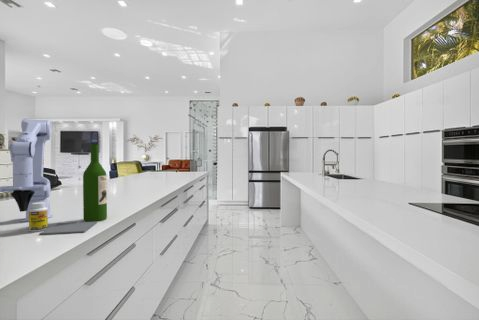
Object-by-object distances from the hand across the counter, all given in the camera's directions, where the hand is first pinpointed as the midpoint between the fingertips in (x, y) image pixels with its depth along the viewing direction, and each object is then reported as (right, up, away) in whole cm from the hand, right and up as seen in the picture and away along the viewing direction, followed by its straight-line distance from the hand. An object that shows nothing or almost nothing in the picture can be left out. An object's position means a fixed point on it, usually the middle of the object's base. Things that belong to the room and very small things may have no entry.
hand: (23, 210), depth 98 cm
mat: (+15, -7, +3) cm, 17 cm away
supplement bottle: (+5, -8, +1) cm, 9 cm away
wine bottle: (+17, -7, +17) cm, 25 cm away
